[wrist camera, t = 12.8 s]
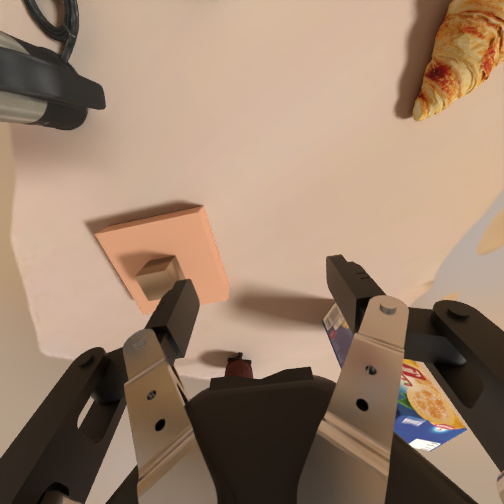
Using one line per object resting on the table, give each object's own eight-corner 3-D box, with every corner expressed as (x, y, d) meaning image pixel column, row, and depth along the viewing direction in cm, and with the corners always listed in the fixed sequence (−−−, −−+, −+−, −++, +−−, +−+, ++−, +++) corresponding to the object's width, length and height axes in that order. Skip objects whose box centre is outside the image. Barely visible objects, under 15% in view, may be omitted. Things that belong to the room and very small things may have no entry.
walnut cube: (148, 260, 36) (134, 276, 32) (175, 255, 36) (164, 270, 31) (160, 283, 39) (148, 301, 34) (185, 278, 38) (176, 296, 34)
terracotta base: (109, 226, 38) (94, 234, 34) (203, 205, 36) (198, 212, 32) (151, 301, 46) (142, 314, 42) (230, 287, 44) (228, 299, 40)
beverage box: (361, 332, 50) (431, 451, 31) (321, 320, 49) (368, 439, 29) (378, 312, 47) (467, 429, 28) (336, 299, 46) (401, 414, 26)
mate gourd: (254, 352, 54) (255, 421, 40) (250, 371, 57) (249, 440, 44) (226, 349, 53) (217, 418, 40) (223, 369, 57) (214, 437, 43)
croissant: (408, 131, 34) (462, 142, 29) (380, 100, 28) (442, 106, 23) (537, -55, 25) (655, -93, 19) (536, -159, 19) (704, -256, 13)
